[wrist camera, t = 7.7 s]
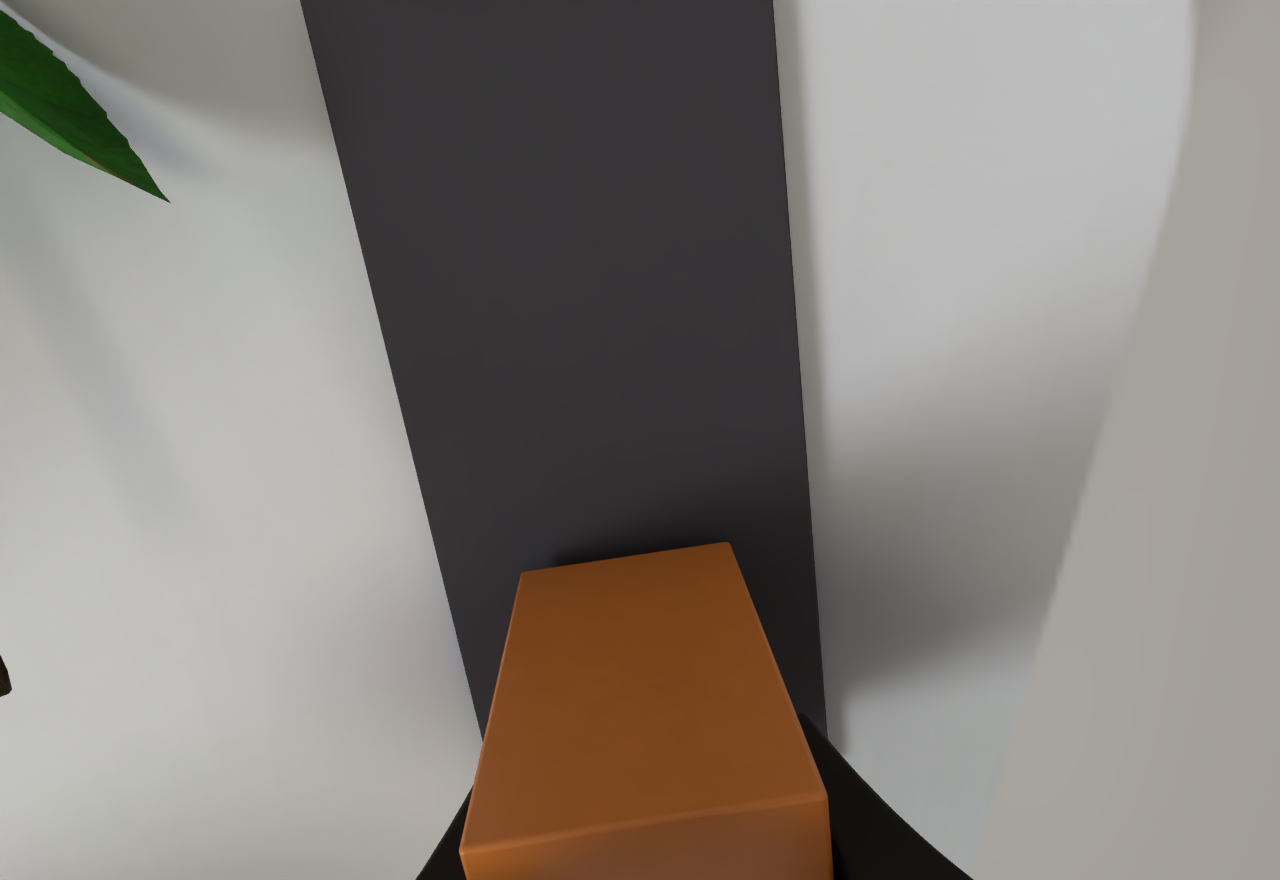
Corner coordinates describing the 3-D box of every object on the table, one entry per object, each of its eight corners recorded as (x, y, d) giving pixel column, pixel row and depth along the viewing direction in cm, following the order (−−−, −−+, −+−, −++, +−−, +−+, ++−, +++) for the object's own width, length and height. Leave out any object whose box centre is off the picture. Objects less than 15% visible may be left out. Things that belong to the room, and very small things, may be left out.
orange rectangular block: (729, 538, 15) (829, 793, 9) (753, 754, 17) (853, 1109, 10) (519, 570, 15) (454, 851, 8) (564, 783, 17) (540, 1158, 10)
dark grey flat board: (710, -744, 10) (714, -783, 10) (825, 762, 18) (830, 774, 18) (144, -666, 10) (126, -701, 10) (504, 810, 18) (502, 823, 18)
